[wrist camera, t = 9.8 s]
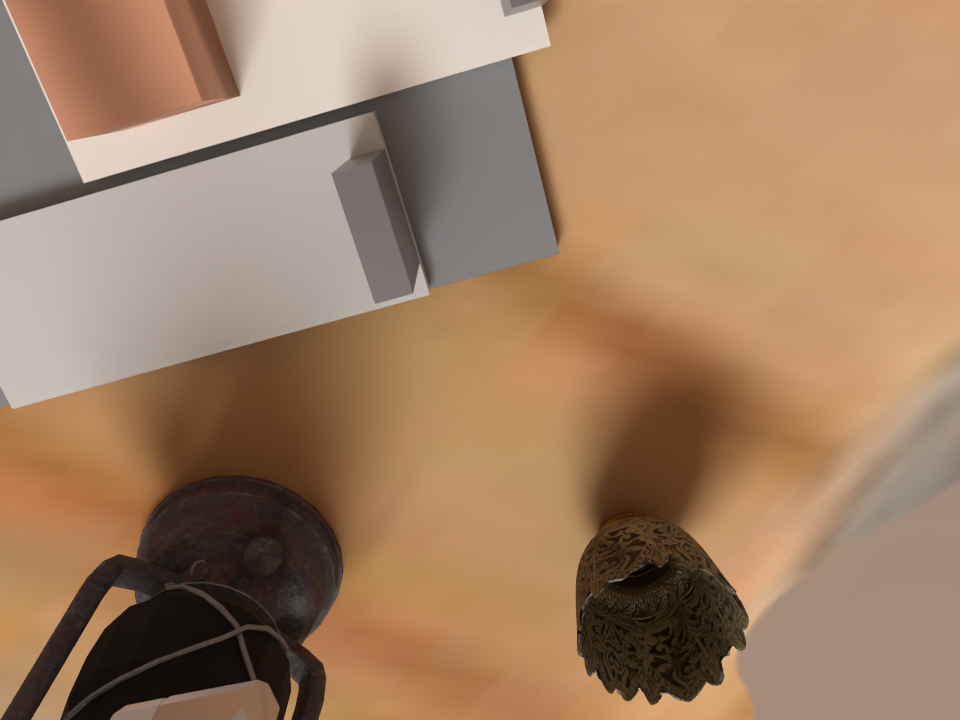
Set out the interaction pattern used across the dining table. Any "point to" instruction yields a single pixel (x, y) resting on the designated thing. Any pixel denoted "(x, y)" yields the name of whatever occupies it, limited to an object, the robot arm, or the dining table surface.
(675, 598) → the dark ornate pot
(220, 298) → the grey strip
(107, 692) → the lantern
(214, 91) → the rust block
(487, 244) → the slate board
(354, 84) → the white strip
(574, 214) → the dining table surface
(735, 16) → the dining table surface
